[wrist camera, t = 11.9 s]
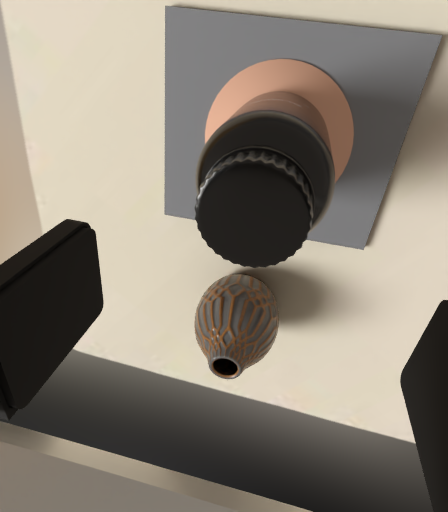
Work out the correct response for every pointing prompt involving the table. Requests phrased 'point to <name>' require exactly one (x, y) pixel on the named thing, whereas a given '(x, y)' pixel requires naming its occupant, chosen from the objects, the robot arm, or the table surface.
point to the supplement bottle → (264, 180)
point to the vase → (236, 324)
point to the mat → (303, 84)
